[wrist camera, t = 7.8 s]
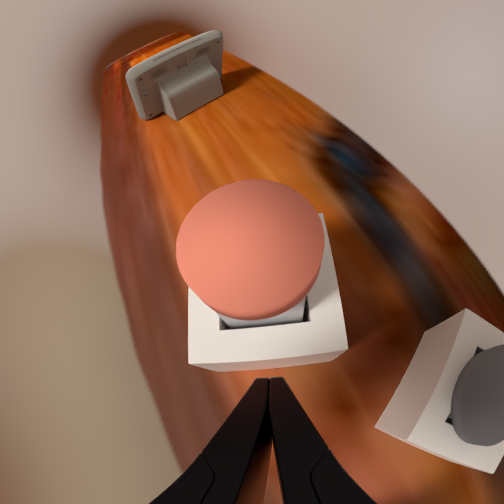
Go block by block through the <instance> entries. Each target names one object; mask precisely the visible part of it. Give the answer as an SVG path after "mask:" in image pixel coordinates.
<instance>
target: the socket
mask: <svg viewBox="0 0 504 504" xmlns="http://www.w3.org/2000/svg"><path fill="white" fill-rule="evenodd" d="M503 344H504V333H503V332H502V331H500V330H499V329H497V328H496V327H494V326H493V325H492V324H490V323H489V322H487V321H486V320H484V319H482V318H481V317H479V316H478V315H476V314H475V313H473V312H472V311H470V310H469V309H467V308H465V309H464V310H462V311H460V312H459V313H457V314H455V315H454V316H452V317H450V318H448V319H447V320H445V321H443V322H441V323H440V324H438V325H436V326H434V327H432V328H431V329H429V330H427V331H425V332H424V334H423V336H422V339H421V341H420V343H419V345H418V348H417V350H416V352H415V354H414V356H413V358H412V360H411V362H410V364H409V366H408V368H407V370H406V372H405V374H404V376H403V378H402V380H401V382H400V384H399V386H398V388H397V389H396V391H395V393H394V395H393V397H392V398H391V400H390V402H389V404H388V405H387V407H386V409H385V410H384V412H383V414H382V415H381V417H380V418H379V420H378V422H377V423H376V425H375V426H374V427H375V428H377V429H379V430H381V431H383V432H385V433H387V434H389V435H391V436H393V437H395V438H397V439H399V440H402V441H404V442H406V443H408V444H410V445H412V446H415V447H417V448H419V449H422V450H424V451H426V452H429V453H431V454H433V455H436V456H438V457H441V458H443V459H446V460H448V461H451V462H454V463H457V464H460V465H463V466H467V467H470V468H473V469H477V470H480V471H484V472H487V473H491V474H493V473H494V472H495V470H496V468H497V466H498V464H499V463H500V461H501V459H502V457H503V455H504V440H503V441H502V442H500V443H498V444H496V445H493V446H480V445H474V444H469V443H466V442H464V441H463V440H462V439H460V438H459V436H458V435H457V434H456V432H455V430H454V427H453V426H452V425H450V424H448V423H446V422H445V421H446V419H447V417H448V415H449V413H450V411H451V400H452V394H453V390H454V387H455V384H456V381H457V379H458V377H459V375H460V373H461V371H462V369H463V368H464V366H465V365H466V364H467V363H468V361H469V360H470V359H471V358H472V357H474V355H476V354H478V353H479V352H481V351H484V350H486V349H489V348H492V347H495V346H498V345H503Z"/></svg>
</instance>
